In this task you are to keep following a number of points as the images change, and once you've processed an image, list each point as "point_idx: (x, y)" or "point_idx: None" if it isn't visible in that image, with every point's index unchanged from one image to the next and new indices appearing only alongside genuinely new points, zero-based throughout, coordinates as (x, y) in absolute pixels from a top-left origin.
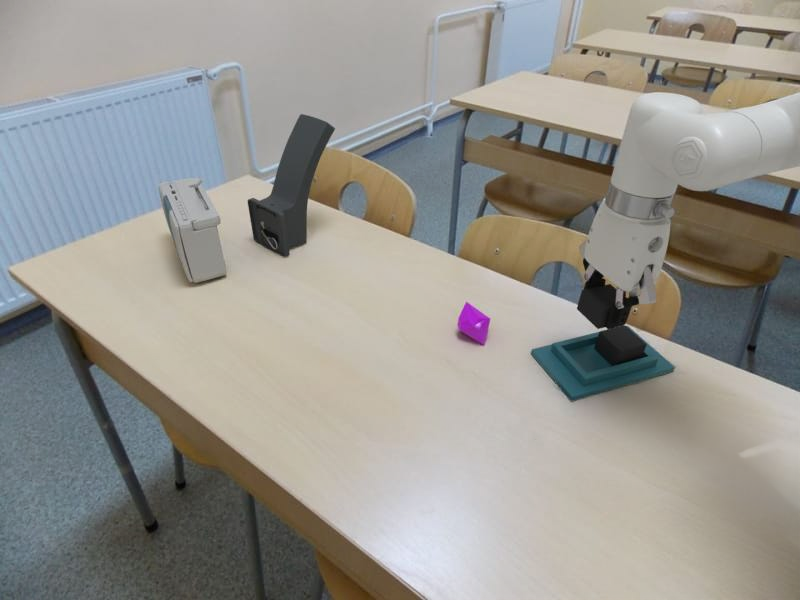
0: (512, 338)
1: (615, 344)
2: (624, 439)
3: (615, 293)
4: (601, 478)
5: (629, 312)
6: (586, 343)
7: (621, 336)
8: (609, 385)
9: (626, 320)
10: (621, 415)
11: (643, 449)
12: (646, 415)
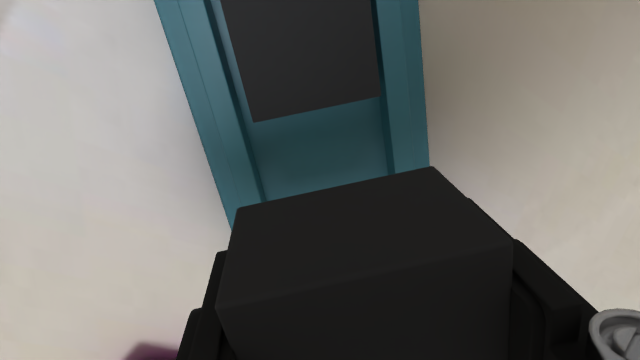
0: (182, 296)
1: (339, 95)
2: (564, 161)
3: (362, 318)
4: (615, 245)
5: (573, 291)
6: (245, 132)
7: (296, 43)
8: (425, 133)
9: (528, 251)
10: (504, 133)
11: (604, 132)
12: (527, 65)
